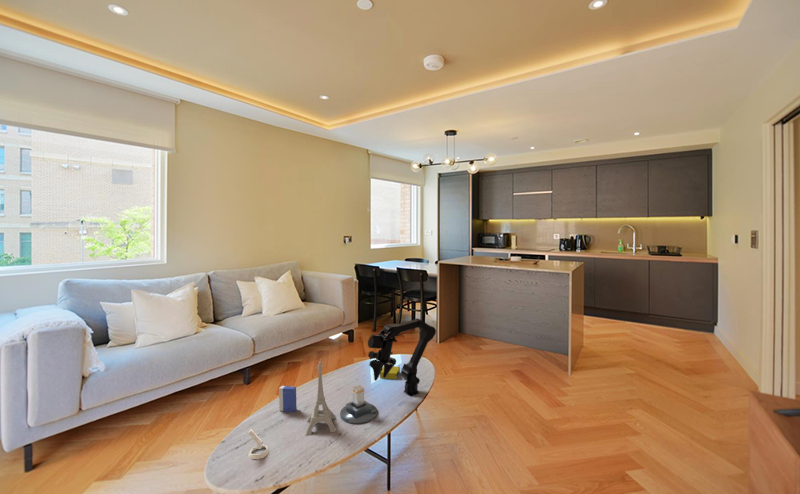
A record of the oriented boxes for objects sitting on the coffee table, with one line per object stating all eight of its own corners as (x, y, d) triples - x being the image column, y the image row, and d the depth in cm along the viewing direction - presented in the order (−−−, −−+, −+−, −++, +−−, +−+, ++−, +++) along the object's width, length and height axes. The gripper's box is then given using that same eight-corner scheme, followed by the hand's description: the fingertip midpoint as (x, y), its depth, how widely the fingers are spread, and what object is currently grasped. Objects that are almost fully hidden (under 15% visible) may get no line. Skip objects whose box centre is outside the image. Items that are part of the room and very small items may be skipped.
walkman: (296, 409, 170) (296, 385, 169) (294, 412, 167) (293, 388, 166) (282, 408, 171) (281, 385, 170) (279, 410, 168) (278, 387, 168)
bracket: (378, 358, 218) (401, 359, 215) (378, 370, 219) (401, 371, 216) (372, 367, 203) (396, 369, 200) (372, 380, 203) (396, 382, 201)
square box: (360, 408, 168) (359, 385, 167) (364, 411, 165) (364, 387, 164) (353, 411, 165) (352, 387, 165) (357, 414, 162) (356, 390, 162)
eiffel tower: (335, 415, 164) (334, 355, 162) (336, 431, 150) (334, 365, 149) (307, 419, 161) (305, 357, 159) (305, 435, 148) (303, 368, 146)
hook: (237, 438, 137) (252, 425, 140) (255, 460, 138) (270, 446, 141) (235, 445, 130) (251, 431, 133) (255, 468, 131) (270, 453, 134)
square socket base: (364, 400, 178) (364, 392, 178) (384, 414, 164) (384, 405, 164) (333, 412, 167) (333, 403, 166) (352, 428, 153) (352, 418, 152)
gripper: (382, 343, 189) (376, 371, 188) (364, 346, 173) (357, 376, 172) (399, 349, 184) (393, 377, 183) (382, 352, 168) (375, 384, 166)
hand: (379, 378), depth 176 cm, fingers open, 9 cm apart
